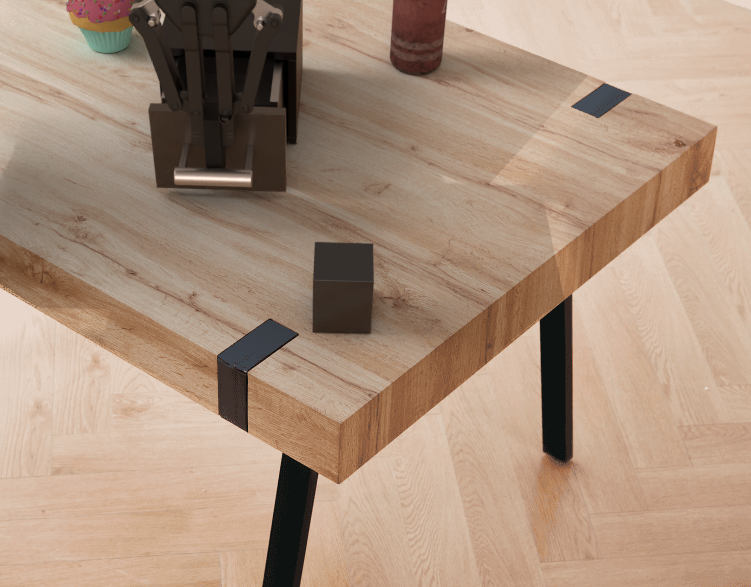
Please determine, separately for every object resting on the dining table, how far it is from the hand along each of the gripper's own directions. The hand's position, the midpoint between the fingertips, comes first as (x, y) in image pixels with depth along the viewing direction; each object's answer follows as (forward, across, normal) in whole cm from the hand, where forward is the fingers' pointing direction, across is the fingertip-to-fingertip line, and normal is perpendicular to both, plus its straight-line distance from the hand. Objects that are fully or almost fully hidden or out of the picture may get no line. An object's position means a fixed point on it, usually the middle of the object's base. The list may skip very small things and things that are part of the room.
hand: (216, 172), depth 101 cm
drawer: (+4, 0, -7) cm, 8 cm away
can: (+5, -20, -30) cm, 37 cm away
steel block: (+5, -12, +14) cm, 19 cm away
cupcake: (+5, +16, -32) cm, 36 cm away
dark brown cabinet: (+5, 0, -20) cm, 21 cm away
